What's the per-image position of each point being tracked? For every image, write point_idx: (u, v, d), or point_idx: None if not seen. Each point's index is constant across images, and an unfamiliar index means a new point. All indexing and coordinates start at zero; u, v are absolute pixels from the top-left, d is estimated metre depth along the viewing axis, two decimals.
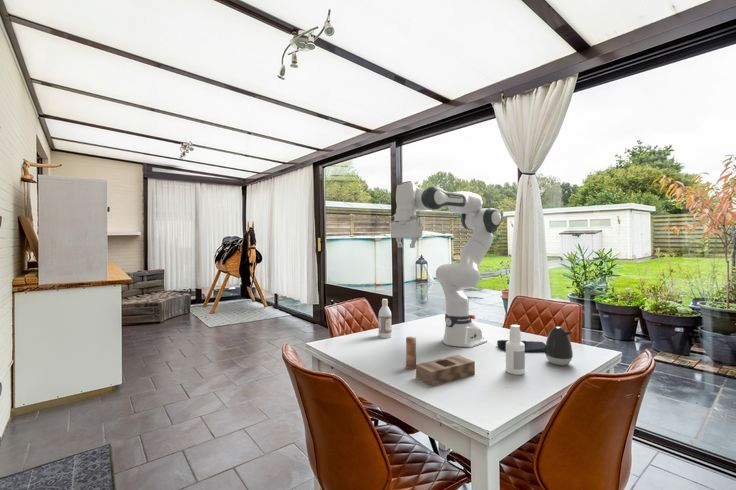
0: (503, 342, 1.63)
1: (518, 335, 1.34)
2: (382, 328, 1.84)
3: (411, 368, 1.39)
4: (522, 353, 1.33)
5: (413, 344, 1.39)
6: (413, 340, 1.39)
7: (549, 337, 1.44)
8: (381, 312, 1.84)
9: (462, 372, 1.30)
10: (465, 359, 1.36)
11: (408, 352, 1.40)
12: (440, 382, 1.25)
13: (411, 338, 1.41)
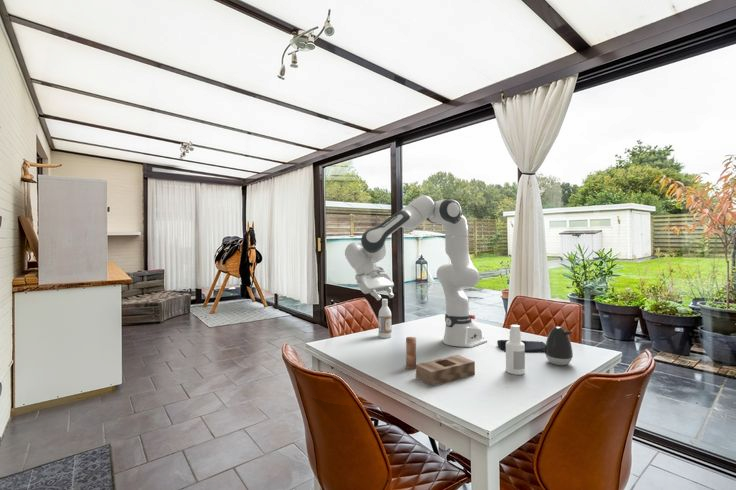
0: (503, 342, 1.63)
1: (518, 335, 1.34)
2: (382, 328, 1.84)
3: (411, 368, 1.39)
4: (522, 353, 1.33)
5: (413, 344, 1.39)
6: (413, 340, 1.39)
7: (549, 337, 1.44)
8: (381, 312, 1.84)
9: (462, 372, 1.30)
10: (465, 359, 1.36)
11: (408, 352, 1.40)
12: (440, 382, 1.25)
13: (411, 338, 1.41)
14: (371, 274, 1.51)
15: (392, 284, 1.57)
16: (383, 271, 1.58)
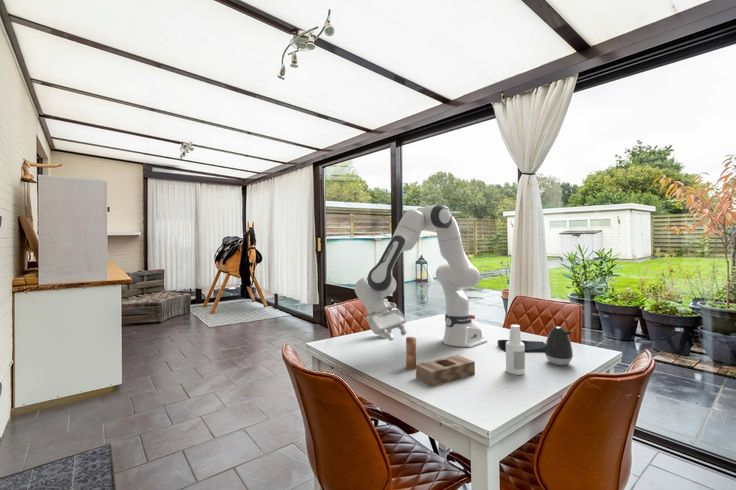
0: (503, 342, 1.64)
1: (518, 335, 1.34)
2: None
3: (411, 368, 1.39)
4: (522, 353, 1.33)
5: (413, 344, 1.39)
6: (413, 340, 1.39)
7: (549, 337, 1.44)
8: None
9: (462, 372, 1.30)
10: (465, 359, 1.36)
11: (408, 352, 1.40)
12: (440, 382, 1.25)
13: (411, 338, 1.41)
14: (382, 312, 1.47)
15: (404, 320, 1.53)
16: (394, 307, 1.54)
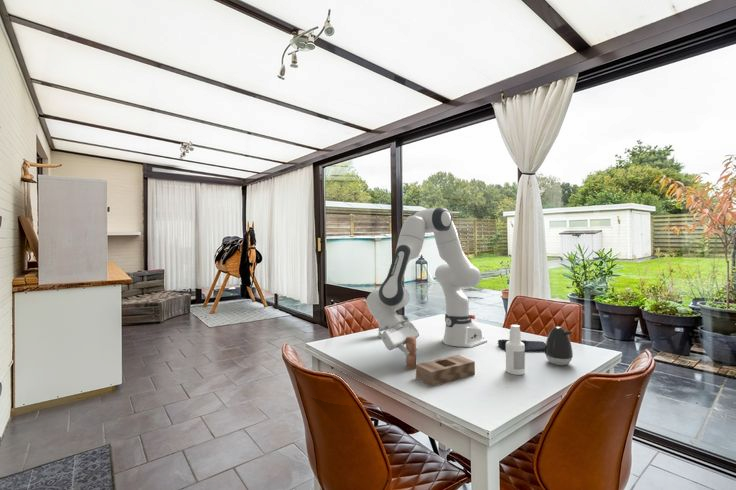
0: (503, 341, 1.64)
1: (518, 335, 1.34)
2: None
3: (411, 368, 1.39)
4: (522, 353, 1.33)
5: (413, 344, 1.39)
6: (413, 340, 1.39)
7: (549, 337, 1.44)
8: None
9: (462, 372, 1.30)
10: (465, 359, 1.36)
11: None
12: (440, 382, 1.25)
13: (411, 338, 1.41)
14: (395, 327, 1.43)
15: (417, 334, 1.49)
16: (407, 320, 1.50)
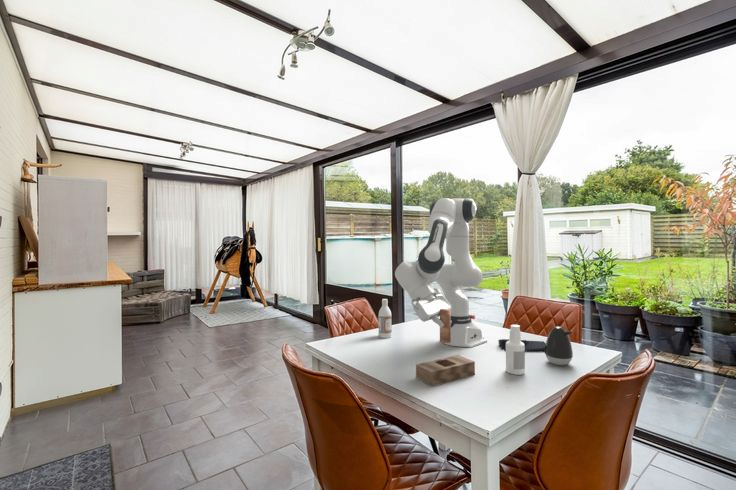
0: (504, 341, 1.64)
1: (518, 335, 1.34)
2: (382, 328, 1.84)
3: (445, 341, 1.30)
4: (522, 353, 1.33)
5: (448, 316, 1.30)
6: (448, 311, 1.30)
7: (549, 337, 1.44)
8: (381, 312, 1.84)
9: (462, 372, 1.30)
10: (465, 359, 1.36)
11: None
12: (440, 382, 1.25)
13: (445, 310, 1.32)
14: (428, 298, 1.34)
15: (450, 307, 1.40)
16: (439, 293, 1.41)
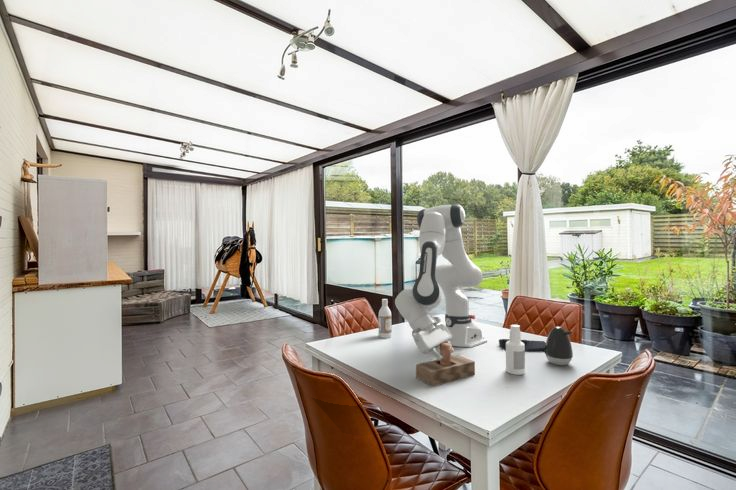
0: (504, 341, 1.65)
1: (518, 335, 1.34)
2: (382, 328, 1.84)
3: None
4: (522, 353, 1.33)
5: (448, 351, 1.30)
6: (448, 347, 1.30)
7: (549, 337, 1.44)
8: (381, 312, 1.84)
9: (462, 372, 1.30)
10: (465, 359, 1.36)
11: (443, 359, 1.31)
12: (440, 382, 1.25)
13: (446, 344, 1.32)
14: (428, 328, 1.34)
15: (450, 336, 1.40)
16: (439, 322, 1.41)
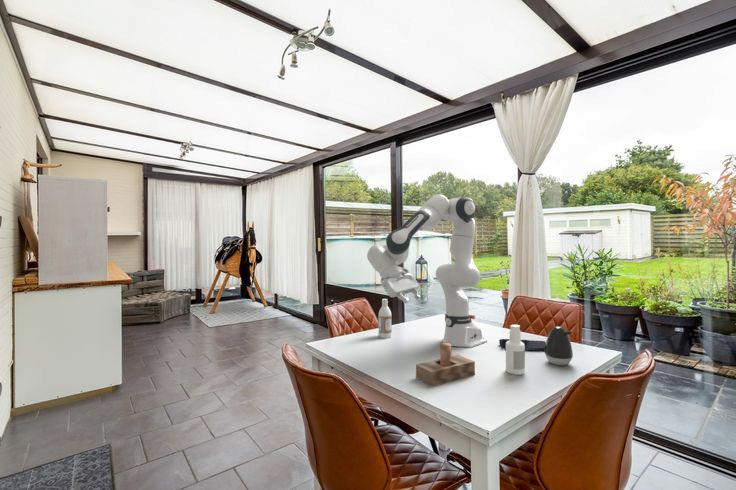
0: (504, 341, 1.65)
1: (518, 335, 1.34)
2: (382, 328, 1.84)
3: None
4: (522, 353, 1.33)
5: (448, 351, 1.30)
6: (448, 347, 1.30)
7: (549, 337, 1.44)
8: (381, 312, 1.84)
9: (462, 372, 1.30)
10: (465, 359, 1.36)
11: (443, 359, 1.31)
12: (440, 382, 1.25)
13: (446, 344, 1.32)
14: (396, 277, 1.47)
15: (417, 285, 1.53)
16: (407, 272, 1.54)
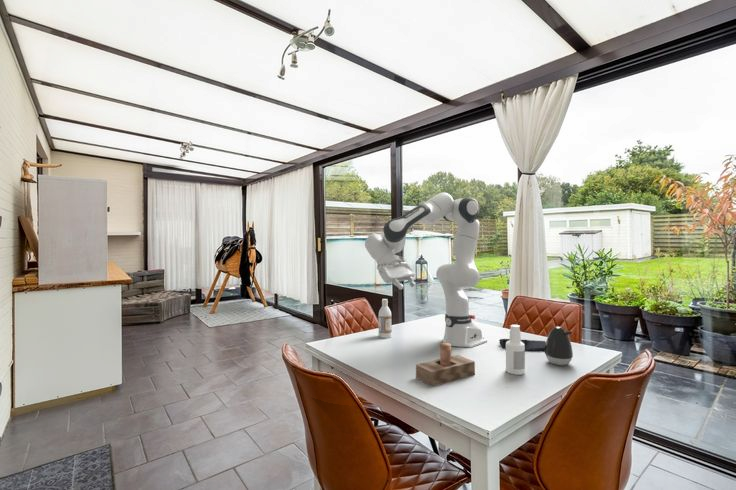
0: (505, 341, 1.65)
1: (518, 335, 1.34)
2: (382, 328, 1.84)
3: None
4: (522, 353, 1.33)
5: (448, 351, 1.30)
6: (448, 347, 1.30)
7: (549, 337, 1.44)
8: (381, 312, 1.84)
9: (462, 372, 1.30)
10: (465, 359, 1.36)
11: (443, 359, 1.31)
12: (440, 382, 1.25)
13: (446, 344, 1.32)
14: (392, 264, 1.52)
15: (413, 273, 1.57)
16: (404, 261, 1.58)
